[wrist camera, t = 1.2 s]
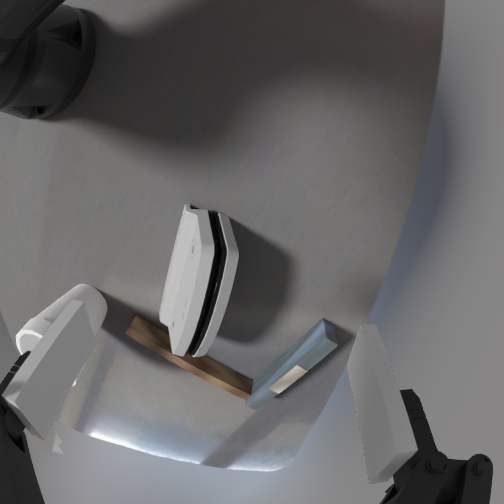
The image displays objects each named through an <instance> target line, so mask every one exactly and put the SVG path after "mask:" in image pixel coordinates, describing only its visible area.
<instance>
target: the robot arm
mask: <svg viewBox="0 0 504 504" xmlns="http://www.w3.org/2000/svg"><path fill="white" fill-rule="evenodd" d="M64 1H65V0H0V111H1V112H4V113H7V114H10V115H13V116H16V117H19V118H23V119H39V118H45V117H49V116H52V115H54V114H56V113H58V112H60V111H61V110H62V109H64V108H65V107H66V106H67V105H68V104H69V103H70V102H71V101H72V100H73V99H74V98H75V97H76V95H77V94H78V93H79V91H80V90H81V88H82V86H83V85H84V83H85V81H86V79H87V77H88V74H89V72H90V69H91V66H92V62H93V58H94V53H95V34H94V29H93V26H92V23H91V21H90V20H89V18H88V17H87V15H86V14H85V13H83V12H82V11H80V10H79V9H76V8H73V7H71V6H68V5H63V4H62V3H63V2H64ZM96 343H97V342H96V339H95V336H94V333H93V330H92V327H91V324H90V320H89V317H88V314H87V311H86V307H85V304H84V301H77V300H71V301H70V302H69V304H68V305H67V306H66V307H65V309H64V310H63V311H62V312H61V314H60V315H59V316H58V317H57V319H56V320H55V321H54V323H53V324H52V325H51V326H50V328H49V329H48V330H47V332H46V333H45V334H44V336H43V337H42V338H41V340H40V341H39V342H38V344H37V345H36V346H35V348H34V349H33V350H32V352H31V351H27V352H25V353H24V354H23V355H21V356H20V357H19V359H18V360H17V361H16V363H15V364H14V366H13V367H12V368H11V370H10V372H8V374H7V375H6V377H5V378H4V380H3V381H2V383H1V384H0V504H45V503H44V500H43V497H42V494H41V491H40V488H39V485H38V482H37V478H36V475H35V471H34V468H33V464H32V460H31V457H30V453H29V448H28V444H27V440H26V436H25V433H24V432H23V430H24V428H25V427H26V428H27V429H28V431H29V432H30V433H31V434H32V435H34V436H37V437H39V438H41V439H43V440H44V439H45V437H46V435H47V433H48V431H49V429H50V427H51V425H52V423H53V421H54V419H55V417H56V415H57V413H58V411H59V409H60V407H61V405H62V403H63V402H64V400H65V398H66V396H67V394H68V392H69V390H70V389H71V387H72V385H73V383H74V381H75V380H76V378H77V376H78V374H79V372H80V371H81V369H82V367H83V365H84V364H85V362H86V360H87V358H88V357H89V355H90V353H91V352H92V350H93V348H94V347H95V345H96ZM347 371H348V375H349V380H350V384H351V389H352V394H353V398H354V403H355V408H356V413H357V418H358V423H359V428H360V433H361V439H362V444H363V450H364V456H365V461H366V468H367V474H368V480H369V484H373V483H379V482H385V481H388V480H389V479H390V478H391V477H392V476H393V478H394V484H393V485H391V486H390V487H389V488H388V489H387V490H386V491H385V492H386V493H387V492H388V493H387V494H386V496H385V497H384V499H383V500H382V502H381V503H380V504H489V502H490V494H491V485H492V476H493V465H492V462H491V460H490V459H489V458H488V457H487V456H486V455H483V454H476V455H474V456H472V457H471V458H470V459H469V460H454V459H448V458H447V457H446V455H444V454H443V453H442V452H439V451H438V450H437V448H436V445H435V443H434V439H433V436H432V433H431V430H430V427H429V424H428V422H427V419H426V416H425V413H424V411H423V407H422V404H421V401H420V399H419V397H418V396H417V395H416V394H415V393H414V392H413V390H412V389H408V390H399V387H398V384H397V381H396V378H395V376H394V373H393V370H392V367H391V364H390V362H389V359H388V356H387V353H386V351H385V348H384V345H383V343H382V340H381V337H380V335H379V333H378V330H377V327H376V325H360V327H359V330H358V333H357V336H356V339H355V342H354V345H353V348H352V351H351V354H350V357H349V360H348V363H347Z"/></svg>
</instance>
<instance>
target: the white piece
mask: <svg viewBox="0 0 504 504" xmlns="http://www.w3.org/2000/svg"><path fill="white" fill-rule="evenodd" d="M238 259H239V251H238V248H237V244H236V241H235V237H234V234H233V231H232V227H231V224H230V220H229V217H228V216H226V215H225V214H222V213H220V212H219V213H218V215H215V216H214V219H213V222H212V218H211V214H209V213H208V210H203V209H191V208H190V204H185V206H184V210H183V214H182V218H181V221H180V225H179V229H178V233H177V237H176V241H175V245H174V249H173V253H172V258H171V262H170V266H169V270H168V275H167V279H166V284H165V288H164V293H163V297H162V302H161V307H160V312H159V314H160V321H161V322H162V323H163V324H165V325H166V326H167V327H168V329H169V335H170V342H171V348H172V353H173V354H175V355H178V356H182V357H183V356H184V355H187V354H188V352H189V354H190V355H192V356H193V357H200V356H204V355H205V354H206V353H207V351H208V350H209V348H210V346H211V344H212V343H213V341H214V339H215V337H216V334H217V332H218V330H219V327H220V325H221V322H222V319H223V317H224V314H225V311H226V307H227V304H228V301H229V297H230V294H231V290H232V286H233V282H234V278H235V273H236V269H237V264H238Z"/></svg>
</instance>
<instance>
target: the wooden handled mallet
mask: <svg viewBox="0 0 504 504" xmlns="http://www.w3.org/2000/svg"><path fill="white" fill-rule="evenodd" d="M125 334H126V335H128V336H129V337H131V338H133V339H134V340H136V341H137V342H139V343H141V344H142V345H144V346H146V347H147V348H149V349H151V350H152V351H154V352H156V353H157V354H159V355H161V356H162V357H164V358H166V359H168V360H169V361H171V362H173V363H175V364H176V365H178V366H180V367H182V368H184V369H185V370H187V371H189V372H191V373H193V374H195V375H196V376H198V377H200V378H202V379H204V380H206V381H208V382H210V383H212V384H214V385H216V386H218V387H220V388H222V389H224V390H226V391H228V392H230V393H232V394H234V395H236V396H238V397H240V398H242V399H245V400H246V401H245V405H246V406H248V407H251V408H253V409H255V410H257V409H258V408H260V407H261V406H262V405H264V404H265V403H266V402H268V401H269V400H271V399H272V398H273V397H275V396H276V395H277V394H279V393H280V392H282V391H283V390H284V389H286V388H287V387H288V386H290V385H291V384H292V383H294V382H295V381H296V380H297V379H299V378H300V377H301V376H302V375H304V374H305V373H306V372H307V371H308V370H309V369H311V368H312V367H313V366H314V365H316V364H317V363H318V362H319V361H320V360H322V359H323V358H324V357H325V356H326V355H328V354H329V353H330V352H331V351H332V350H333V349H335V348H336V347H337V346H338V342H337V337H336V333H335V329H334V325H333V324H331V323H329V322H328V321H326V320H325V319H322V320H320V321H319V322H318V323H317V324H316V325H315V326H314V327H313V328H312V329H311V330H310V331H309V332H308V333H307V334H306V335H304V336H303V337H302V338H301V339H300V340H299V341H298V342H297V343H296V344H295V345H293V346H292V347H291V348H290V349H289V350H288V351H287V352H286V353H285V354H283V355H282V356H281V357H280V358H279V359H278V360H277V361H275V362H274V363H273V364H272V365H271V366H270V367H268V368H267V369H266V370H265V371H264V372H263V373H261V374H260V375H259V376H258V377H257V378H255V379H254V380H253V381H252V380H250V379H248V378H246V377H244V376H242V375H240V374H238V373H237V372H235V371H233V370H231V369H229V368H227V367H225V366H223V365H221V364H219V363H218V362H216V361H214V360H212V359H210V358H208V357H207V356H205V355H204V356H200V357H193V356H192V355H190V354H189V352H188V354H187V355H184V356H183V357H182V356H178V355H175V354H173V353H172V348H171V342H170V335H169V334H167V333H165V332H164V331H162V330H160V329H159V328H157V327H156V326H154V325H152V324H151V323H149V322H148V321H146V320H144V319H143V318H141V317H140V316H138V315H137V314H136V316H135V318H134V319H133V321H132V323H131V324H130V326H129V328H128V330H127V331H126V333H125Z"/></svg>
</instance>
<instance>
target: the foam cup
mask: <svg viewBox="0 0 504 504" xmlns="http://www.w3.org/2000/svg"><path fill="white" fill-rule="evenodd" d="M71 300H77V301H84V304H85V307H86V311H87V314H88V317H89V320H90V324H91V327H92V330H93V333H94V336H95V339H96V336H97V334H98V332H99V330H100V328H101V325H102V323H103V321H104V319H105V316H106V313H107V310H108V308H107V304H106V300H105V299H104V297H103V296H102V294H101V293H100V292H99V291H98V290H96V289H95V288H94V287H92V286H90V285H87V284H78V285H77V286H75V287H74V288H72V289H71V290H70V291H68V292H67V293H66V294H64V295H63V296H62V297H60V298H59V299H58V300H56V301H55V302H54V303H53V304H51V305H50V306H49V307H47V308H46V309H45V310H44V311H42V312H41V313H40V314H38V315H37V316H36V317H35V318H31V319H30V320H29V321H28V322H27V323H26V325H25V326H24V327H23V328H22V329H21V330H20V331H19V333H18V334H17V335H16V342H17V347H18V349H19V351H20V353H21V355H23V354H24V353H25V352H27V351H31V352H32V350H33V349H34V348H35V346H36V345H37V344H38V342H39V341H40V340H41V338H42V337H43V336H44V334H45V333H46V332H47V330H48V329H49V328H50V326H51V325H52V324H53V323H54V321H55V320H56V319H57V317H58V316H59V315H60V314H61V312H62V311H63V310H64V309H65V307H66V306H67V305H68V304H69V302H70V301H71ZM83 370H84V365H83V367H82V369H81V371H80V372H79V374H78V376H77V378H76V380H75V381H74V383H73V385H72V386H74V385H76V383H77V381H78V379H79V378H80V376H81V374H82V373H83Z"/></svg>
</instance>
